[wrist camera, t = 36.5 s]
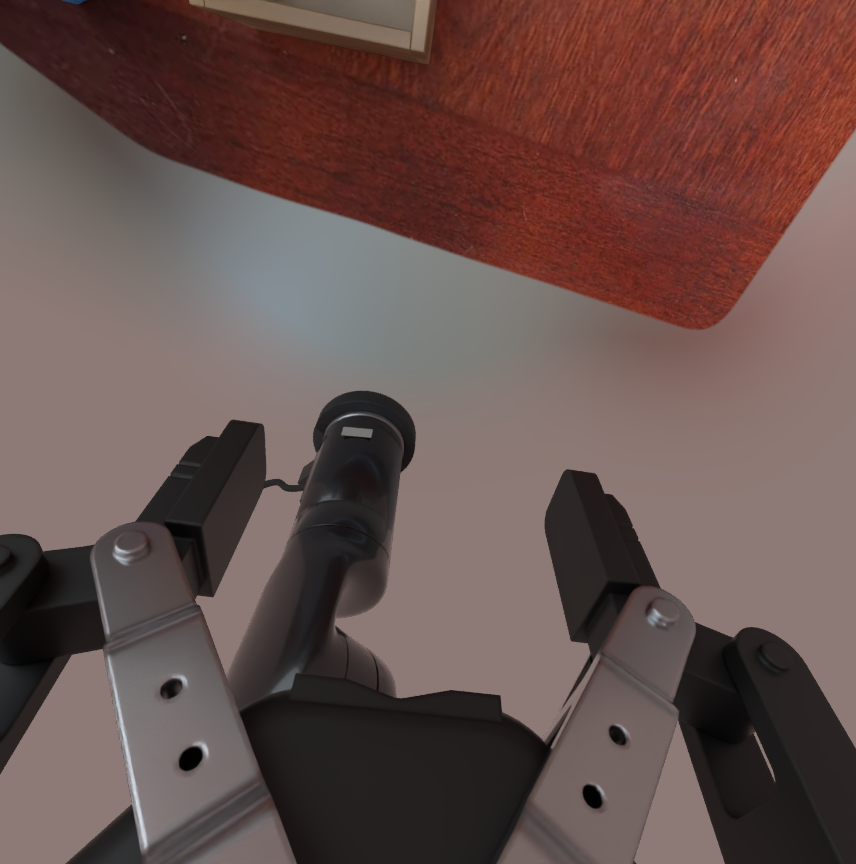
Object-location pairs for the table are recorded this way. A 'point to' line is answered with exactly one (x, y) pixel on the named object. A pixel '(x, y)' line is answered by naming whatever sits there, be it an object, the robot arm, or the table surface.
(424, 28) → the chest
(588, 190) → the table surface
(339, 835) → the robot arm
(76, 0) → the ink box
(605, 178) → the table surface
